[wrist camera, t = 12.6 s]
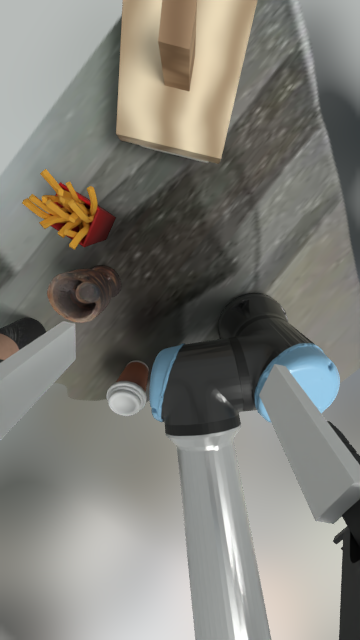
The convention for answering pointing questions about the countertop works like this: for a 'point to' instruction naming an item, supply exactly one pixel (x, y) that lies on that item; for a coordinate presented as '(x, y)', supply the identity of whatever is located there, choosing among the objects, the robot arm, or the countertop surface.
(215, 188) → the countertop surface
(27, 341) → the travel mug
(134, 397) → the coffee cup
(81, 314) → the mortar and pestle
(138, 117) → the lid
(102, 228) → the french fries
